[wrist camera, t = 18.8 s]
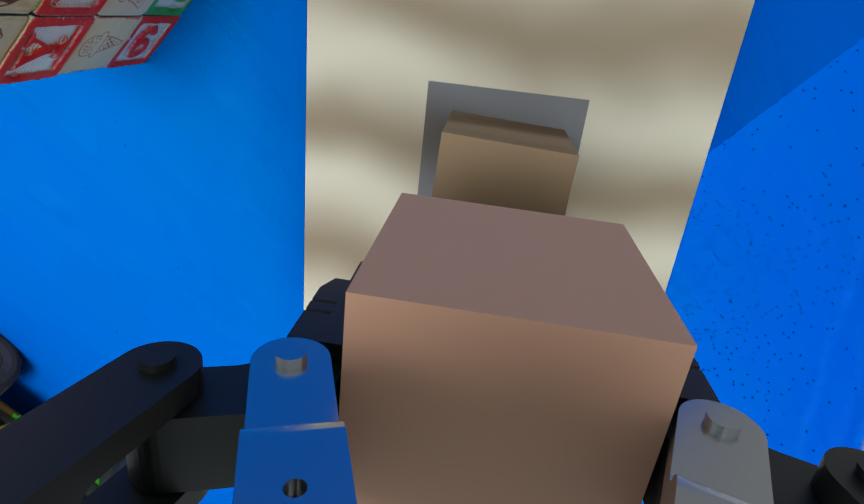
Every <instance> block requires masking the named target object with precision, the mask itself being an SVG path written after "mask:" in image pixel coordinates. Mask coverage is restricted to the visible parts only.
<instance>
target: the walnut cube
mask: <svg viewBox="0 0 864 504" xmlns="http://www.w3.org/2000/svg"><path fill="white" fill-rule="evenodd" d="M578 160H579V154H578V152H577V151H576V149H575V147H574V146H573V144H572V142H571V140H570V139H569V137H568V135H567V134H566V132H565V130H563V129H557V128H551V127H545V126H539V125H533V124H527V123H522V122H516V121H510V120H504V119H498V118H492V117H486V116H481V115H475V114H469V113H463V112H457V111H452V113H451V115H450V117H449V119H448V121H447V123H446V125H445V127H444V129H443V131H442V135H441V141H440V147H439V154H438V160H437V167H436V173H435V180H434V186H433V192H432V197H436V198H443V199H450V200H457V201H464V202H471V203H478V204H485V205H492V206H499V207H506V208H513V209H520V210H527V211H534V212H541V213H548V214H555V215H562V216H564V213H565V209H566V205H567V202H568V198H569V194H570V190H571V186H572V183H573V179H574V175H575V171H576V167H577V163H578Z"/></svg>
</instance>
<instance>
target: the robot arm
mask: <svg viewBox="0 0 864 504" xmlns="http://www.w3.org/2000/svg"><path fill="white" fill-rule="evenodd" d="M362 262H363V261H361V262H360V263H359V265H358V267H357V269H356V270H355V272H354V274H353V276H352V277H351V279H350V280H346V279H339V278H335V279H333V280H331V281H329V282H328V283H326V284H324V285H322V286H321V287H320V288H319V289H318V291H317V292H316V294H315V295H314V297H313V298H312V301H310V303H309V304H308V306H307V307H306V310H304V312H303V313H302V315H301V316H300V318H299V319H298V321H297V322H296V324H295V325H294V327H293V328H292V330H291V331H290V333H289V334H288V336H287V337H286V338H282V339H277V340H273V341H270V342H268V343H266V344H264V345H262V346H260V347H259V348H258V349H257V350H256V351H255V352H254V353H253V355H252V357H251V360H250V363H249V364H244V365H236V366H219V367H203V360H202V355H201V353H200V351H199V350H198V349H197V348H195V347H193V346H191V345H189V344H186V343H182V342H173V341H165V342H155V343H150V344H146V345H142V346H139V347H137V348H134V349H132V350H130V351H128V352H126V353H125V354H123V355H121V356H120V357H118V358H116V359H115V360H113V361H111V362H110V363H108V364H107V365H105V366H103V367H102V368H100V369H98V370H97V371H95V372H93V373H92V374H90V375H88V376H87V377H85V378H84V379H82V380H80V381H79V382H77V383H75V384H74V385H72V386H70V387H69V388H67V389H65V390H64V391H62V392H61V393H59V394H57V395H56V396H54V397H52V398H51V399H49V400H47V401H46V402H44V403H42V404H41V405H39V406H38V407H36V408H34V409H33V410H31V411H29V412H28V413H26V414H24V415H23V416H21V417H20V418H18V419H16V420H15V421H13V422H11V423H10V424H8V425H6V426H5V427H3V428H1V429H0V504H198V503H199V502H200V501H201V500H202V499H203V497H204V496H205V495H206V493H207V492H208V490H210V489H220V488H229V487H234V492H233V502H232V504H357V500H356V493H355V487H354V480H353V473H352V466H351V459H350V452H349V445H348V438H347V431H346V426H345V422H344V420H340V421H339V404H340V386H341V368H342V350H343V332H344V314H345V297H346V291H347V289H348V287H349V285H350V284H351V282H352V280H353V278H354V276H355V275H356V273H357V271H358V269H359V268H360V266H361V264H362ZM699 368H700V367H699V365H698V363H697V362H696V360H695V358H693V360H692V363H691V366H690V369H689V372H688V374H687V377H686V380H685V383H684V385H683V388H682V391H681V394H680V397H679V399H678V402H677V405H676V408H675V410H674V413H673V416H672V419H671V422H670V424H669V427H668V430H667V433H666V436H665V438H664V441H663V444H662V447H661V449H660V452H659V455H658V458H657V461H656V463H655V466H654V469H653V472H652V474H651V477H650V480H649V483H648V486H647V488H646V491H645V494H644V497H643V501H644V504H864V451H861V450H858V449H853V448H848V447H835V448H831V449H829V450H828V451H826V453H825V454H824V456H823V458H822V460H821V462H820V464H819V466H816V465H813V464H811V463H808V462H805V461H802V460H799V459H797V458H794V457H791V456H788V455H785V454H782V453H780V452H777V451H775V450H772V449H770V448H768V443H767V438H766V436H765V434H764V432H763V431H762V429H761V428H760V427H759V426H758V425H757V424H756V423H755V422H754V421H753V420H752V419H750V418H749V417H748V416H746V415H745V414H743V413H741V412H740V411H738V410H736V409H734V408H732V407H730V406H727V405H725V404H722V403H720V402H719V400H718V398H717V396H716V395H715V393H714V391H713V389H712V388H711V386H710V384H709V382H708V381H707V379H706V377H705V375H704V374H703V372H702V370H699ZM125 456H126V462H127V464H126V465H125V466H124V467H123V468H121V469H120V470H119V471H118V472H116V473H115V474H114V475H113V476H112V477H110V478H109V479H108V480H107V481H106V482H104V483H103V484H102V485H101V486H99V487H98V488H97V489H96V490H95V491H93V492H92V493H91V494H90V495H89V496H87V497H86V498H85V499H84V500H83V498H84V496H85V494H86V493H87V491H88V489H89V488H90V487H91V485H92V484H93V483H94V482H95V481H96V480H97V479H98V478H99V477H101V476H102V475H103V474H104V473H105V472H107V471H108V470H109V469H110V468H112V467H113V466H114V465H115V464H117V463H118V462H119V461H120V460H122V459H123V458H124V457H125Z"/></svg>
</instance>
